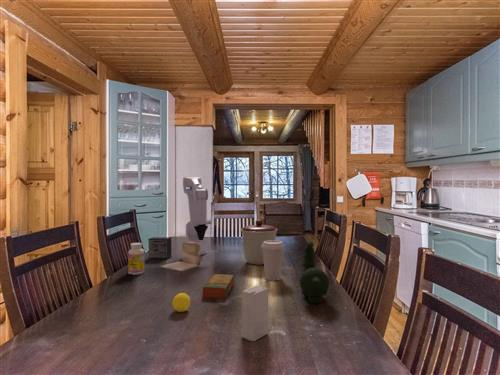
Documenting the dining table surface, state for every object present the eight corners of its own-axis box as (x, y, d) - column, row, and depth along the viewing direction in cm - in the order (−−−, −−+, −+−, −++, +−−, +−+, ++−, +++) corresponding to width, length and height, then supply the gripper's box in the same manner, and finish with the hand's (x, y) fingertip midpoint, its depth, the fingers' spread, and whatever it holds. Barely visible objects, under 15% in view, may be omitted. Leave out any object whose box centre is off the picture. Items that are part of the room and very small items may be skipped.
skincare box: (255, 329, 89) (255, 284, 89) (269, 334, 86) (269, 287, 86) (240, 337, 85) (240, 290, 84) (254, 343, 82) (254, 294, 81)
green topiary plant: (296, 290, 127) (302, 309, 102) (296, 240, 128) (301, 246, 103) (321, 290, 126) (333, 309, 101) (320, 240, 128) (332, 247, 103)
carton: (234, 285, 128) (234, 274, 128) (226, 300, 113) (226, 287, 112) (213, 284, 130) (213, 273, 129) (202, 298, 114) (202, 286, 114)
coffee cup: (287, 276, 139) (287, 241, 138) (280, 283, 130) (280, 244, 130) (266, 274, 143) (266, 239, 142) (257, 280, 134) (257, 243, 134)
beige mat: (178, 262, 164) (178, 261, 164) (198, 266, 157) (198, 264, 157) (160, 267, 154) (160, 266, 154) (181, 271, 147) (181, 270, 147)
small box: (172, 256, 177) (172, 236, 177) (167, 259, 170) (167, 239, 170) (153, 256, 178) (152, 236, 178) (148, 259, 172) (147, 238, 171)
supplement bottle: (124, 273, 143) (124, 244, 143) (136, 270, 149) (136, 241, 149) (136, 275, 140) (135, 245, 140) (147, 272, 146) (147, 243, 146)
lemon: (190, 315, 100) (189, 299, 99) (171, 316, 99) (171, 299, 98) (191, 304, 107) (190, 288, 106) (173, 305, 106) (173, 289, 105)
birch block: (188, 261, 166) (188, 241, 166) (200, 263, 162) (200, 243, 162) (182, 263, 163) (182, 242, 163) (194, 265, 158) (194, 244, 158)
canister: (234, 265, 158) (234, 220, 158) (248, 257, 175) (248, 217, 175) (270, 268, 152) (270, 222, 151) (282, 260, 168) (282, 218, 168)
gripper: (197, 214, 159) (197, 242, 159) (216, 212, 171) (216, 238, 172) (186, 213, 163) (186, 241, 163) (205, 211, 175) (205, 237, 175)
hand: (201, 239), depth 168 cm, fingers closed
